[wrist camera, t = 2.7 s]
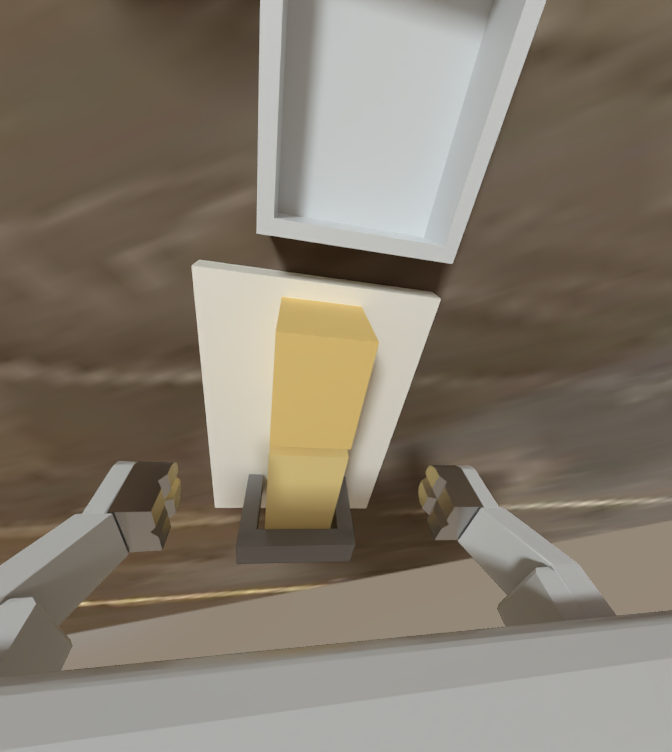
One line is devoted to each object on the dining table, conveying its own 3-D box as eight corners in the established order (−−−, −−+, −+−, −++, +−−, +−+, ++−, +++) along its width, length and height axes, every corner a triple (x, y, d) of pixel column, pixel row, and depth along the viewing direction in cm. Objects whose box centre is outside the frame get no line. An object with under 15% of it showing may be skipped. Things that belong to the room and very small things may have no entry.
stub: (361, 306, 15) (379, 342, 12) (341, 400, 18) (350, 449, 15) (281, 296, 14) (275, 331, 11) (275, 395, 17) (269, 446, 14)
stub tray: (526, -76, 10) (605, -166, 7) (427, 250, 15) (452, 264, 12) (275, -173, 8) (265, -326, 6) (264, 223, 14) (256, 233, 11)
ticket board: (432, 291, 16) (494, 343, 11) (363, 495, 26) (379, 574, 21) (199, 259, 14) (140, 304, 9) (218, 493, 24) (195, 581, 18)
